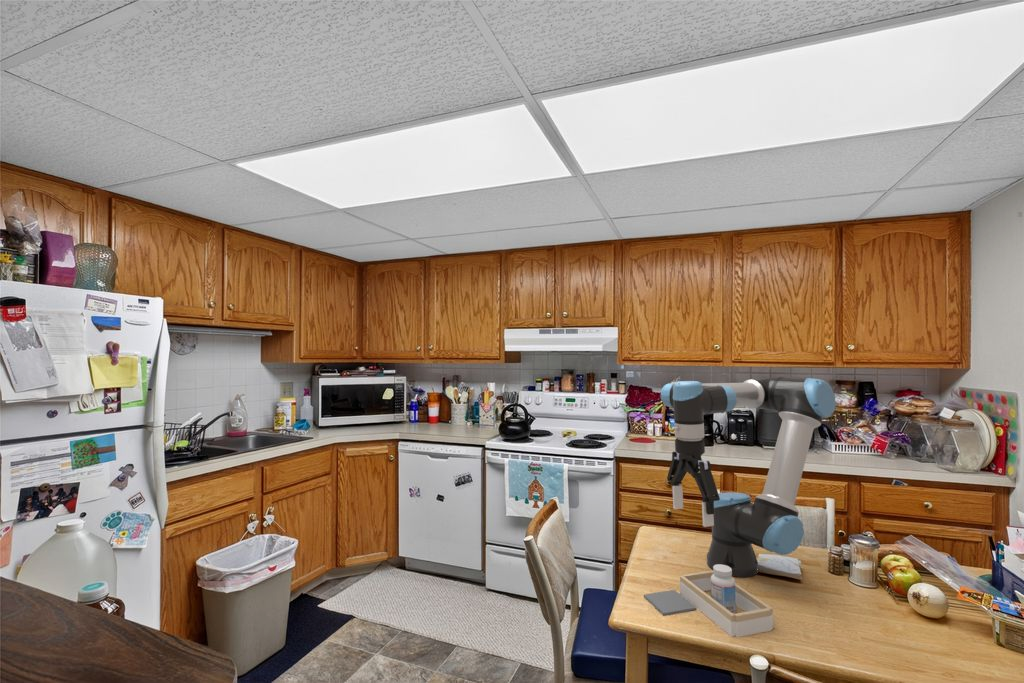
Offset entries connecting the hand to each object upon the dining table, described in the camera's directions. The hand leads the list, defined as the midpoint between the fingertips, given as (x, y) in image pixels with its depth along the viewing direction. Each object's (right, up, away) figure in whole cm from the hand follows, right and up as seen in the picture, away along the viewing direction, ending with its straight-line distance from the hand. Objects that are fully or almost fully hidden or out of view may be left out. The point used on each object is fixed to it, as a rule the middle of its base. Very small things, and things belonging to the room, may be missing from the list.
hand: (692, 516), depth 128 cm
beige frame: (+8, -25, -1) cm, 26 cm away
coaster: (-5, -25, +3) cm, 26 cm away
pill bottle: (+8, -25, -1) cm, 26 cm away
